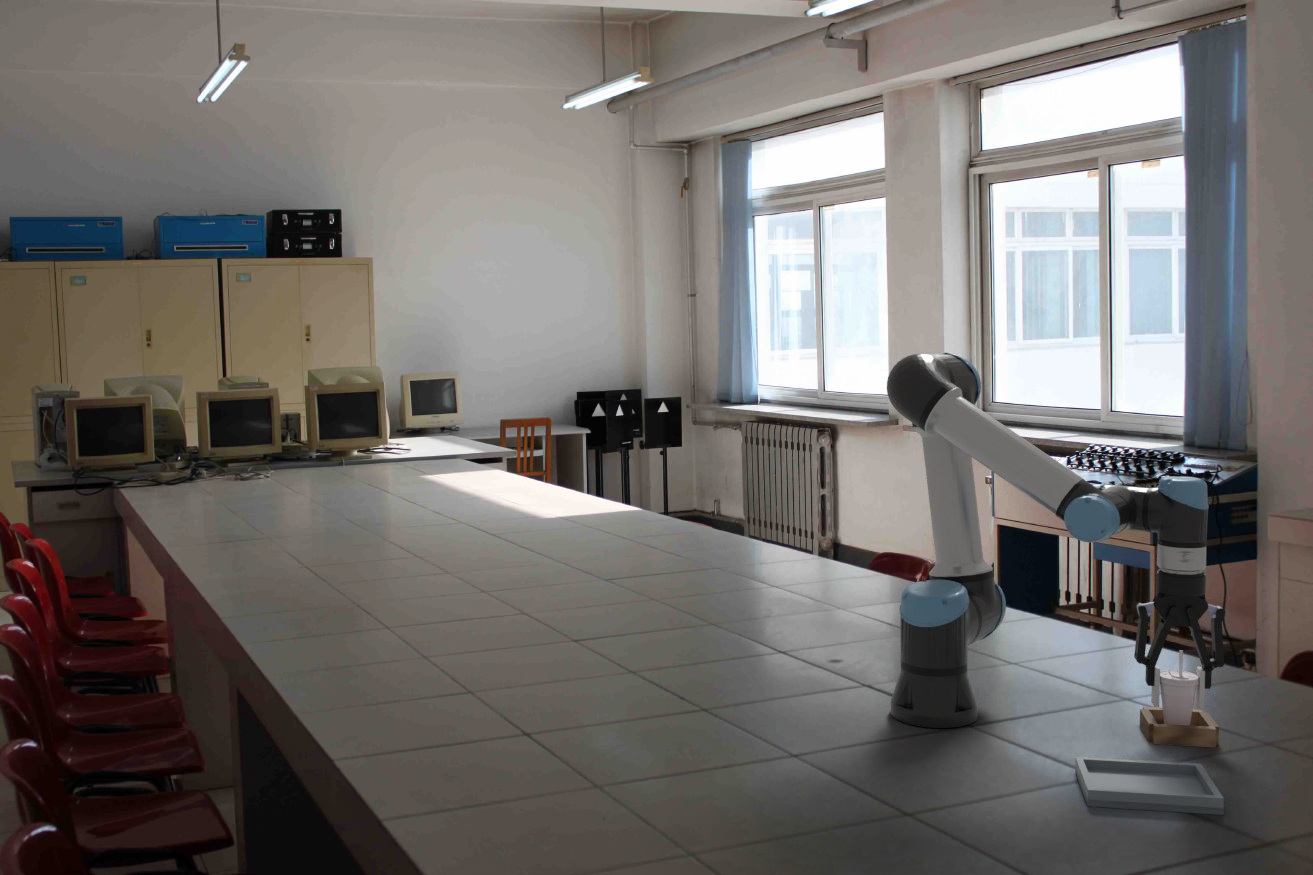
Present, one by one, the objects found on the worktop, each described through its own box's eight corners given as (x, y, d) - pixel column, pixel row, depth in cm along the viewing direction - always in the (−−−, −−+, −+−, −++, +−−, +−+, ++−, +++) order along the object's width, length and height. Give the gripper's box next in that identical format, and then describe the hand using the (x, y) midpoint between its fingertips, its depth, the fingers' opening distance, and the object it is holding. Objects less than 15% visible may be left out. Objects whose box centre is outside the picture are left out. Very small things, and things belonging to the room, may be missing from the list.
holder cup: (1149, 743, 197) (1150, 725, 196) (1138, 723, 207) (1138, 706, 207) (1220, 747, 194) (1221, 729, 194) (1205, 726, 205) (1205, 709, 205)
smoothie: (1173, 739, 197) (1175, 655, 196) (1147, 727, 203) (1149, 646, 202) (1206, 735, 199) (1208, 652, 197) (1179, 723, 205) (1181, 643, 204)
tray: (1087, 805, 171) (1087, 789, 170) (1075, 771, 184) (1075, 756, 184) (1223, 814, 167) (1223, 798, 167) (1200, 779, 180) (1200, 763, 180)
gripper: (1123, 572, 197) (1120, 709, 199) (1249, 576, 193) (1245, 715, 195) (1116, 563, 204) (1113, 695, 206) (1237, 567, 200) (1233, 702, 202)
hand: (1177, 705), depth 200 cm, fingers closed on smoothie, 6 cm apart
